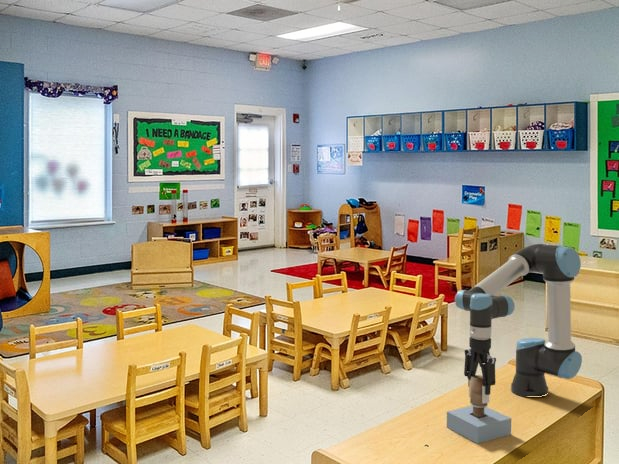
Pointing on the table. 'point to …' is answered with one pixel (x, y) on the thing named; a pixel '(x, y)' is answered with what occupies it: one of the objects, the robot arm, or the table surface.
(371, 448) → the table surface
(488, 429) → the seat block
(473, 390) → the peg
